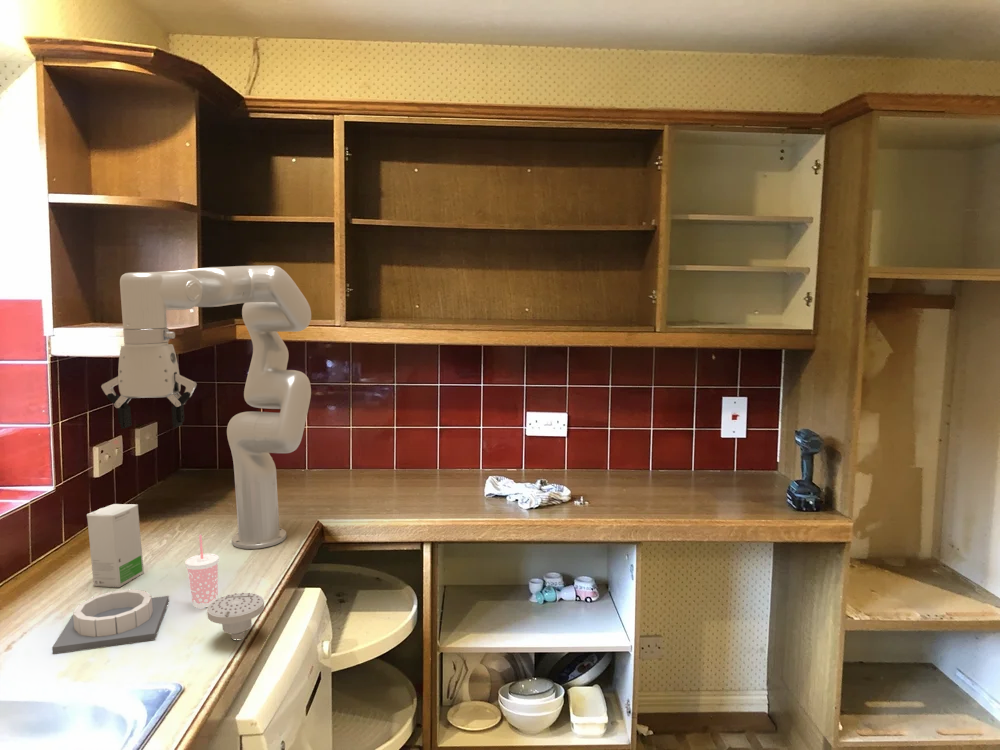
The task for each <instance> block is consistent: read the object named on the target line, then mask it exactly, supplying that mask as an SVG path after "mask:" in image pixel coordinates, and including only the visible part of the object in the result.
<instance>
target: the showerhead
mask: <svg viewBox="0 0 1000 750" xmlns="http://www.w3.org/2000/svg"><path fill="white" fill-rule="evenodd" d="M264 609H265V599H264V598H263V597H262V596H261V595H259V594H257V593H253V592H252V593H251V592H239V593H238V592H237V593H235V592H234V593H233V594H227V595H225V596H221V597H220V598H218V599H217V600H215V601H213V602H212V603H211V604H210V605H209V606H208V608H207V609H206V611H207V612H206V614H207V619H208V620H210V622H212V623H215V624H219V625H222V631H223V632H224V633H226V634H230V636H231V638H232V639H236V640H237V639H242V638H243V637H244V638H245V631H248V629H250V628H251V627H252V619H254V618H256V617H258V616H259V615H261V614H262V613H263V611H264ZM244 638H243V639H244ZM232 639H231V640H232ZM243 639H242V640H243Z"/></svg>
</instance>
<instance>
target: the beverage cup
mask: <svg viewBox="0 0 1000 750" xmlns="http://www.w3.org/2000/svg"><path fill="white" fill-rule="evenodd" d="M198 539H199V552H200V554H196V555H193V556H191V557H188V558H187V559H186V560H185V561H184V563H185V568H187V575H188V581H189V589H190V594H191V595H190V596H191V602H192V607H193V606H194V607H193V608H195V607H196V608H195V609H205V608H204V607H208V606H209V605H210V604H211V603H212V602H213V601H215V600H217V599H219V598H218V597H219V595H218V594H219V593H218V592H219V591H218V590H219V586H218V584H219V580H218V579H219V578H218V577H219V574H218V573H219V572H218V570H219V567H218V566H219V565H218V564H219V562H220V557H219V555H217V554H215V553H204V551H203V550H204V549H203V536H202V533H201V534H199V535H198Z"/></svg>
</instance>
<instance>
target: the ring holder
mask: <svg viewBox="0 0 1000 750" xmlns="http://www.w3.org/2000/svg"><path fill="white" fill-rule="evenodd" d="M169 597H170V596H169V595H163V596H156V597H152V595H151V594H150V593H149V592H147V591H146V590H139V589H132V588H131V589H121V590H114V591H108V592H105V593H102V594H98V595H95V596H92V597H90V598H88V599H86V600H85V601H83V602H80V603H79V604H78V605H77V606H76V608H75V609H74V611H72V616H71V617H70V618H69V620H68V622H67V624H66V625H65V626H64V628H63V630H62V631H61V633H60V634H59V636H58V638H57V639H56V640H55V642H54V644H53V645H52V647H51V651H52V655H55V654H56V655H57V654H62V653H71V652H78V651H85V650H92V649H98V648H99V649H101V648H106V647H114V646H119V645H126V644H127V645H129V644H136V643H142V642H149V641H155V640H156V638H157V635H158V633H159V630H160V628H161V625H162V621H163V618H164V617H163V616H165V613H166V612H167V608H168V606H167V605H169V603H168V602H170V598H169Z"/></svg>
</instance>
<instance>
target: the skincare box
mask: <svg viewBox="0 0 1000 750" xmlns="http://www.w3.org/2000/svg"><path fill="white" fill-rule="evenodd" d="M86 519H87V528H88V540H89V549H90V559H91V560H90V561H91V572H92V573H91V575H92V582H93V583H92V584H93V587H100V588H101V587H103V588H120V587H122V586H124V585H125V584H127V583H129V582H131V581H133V580H134V579H136V578H138V577H140V576H141V574H142V575H143V574H144V573H145V572H144V562H143V561H144V560H143V549H142V548H143V547H142V540H141V539H142V538H141V537H142V536H141V529H140V528H141V527H140V526H141V525H140V514H139V504H137V503H136V504H134V503H133V504H132V503H131V504H130V503H129V504H128V503H126V504H125V503H123V504H122V503H113V504H110V505H106V506H105V507H104V506H103V507H100V508H99V509H97V510H94V511H91V512H89V513H87V514H86ZM139 575H140V576H139ZM132 579H133V580H132Z"/></svg>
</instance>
